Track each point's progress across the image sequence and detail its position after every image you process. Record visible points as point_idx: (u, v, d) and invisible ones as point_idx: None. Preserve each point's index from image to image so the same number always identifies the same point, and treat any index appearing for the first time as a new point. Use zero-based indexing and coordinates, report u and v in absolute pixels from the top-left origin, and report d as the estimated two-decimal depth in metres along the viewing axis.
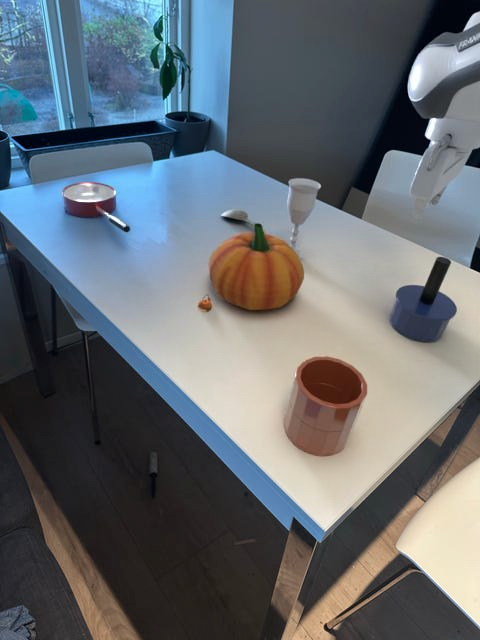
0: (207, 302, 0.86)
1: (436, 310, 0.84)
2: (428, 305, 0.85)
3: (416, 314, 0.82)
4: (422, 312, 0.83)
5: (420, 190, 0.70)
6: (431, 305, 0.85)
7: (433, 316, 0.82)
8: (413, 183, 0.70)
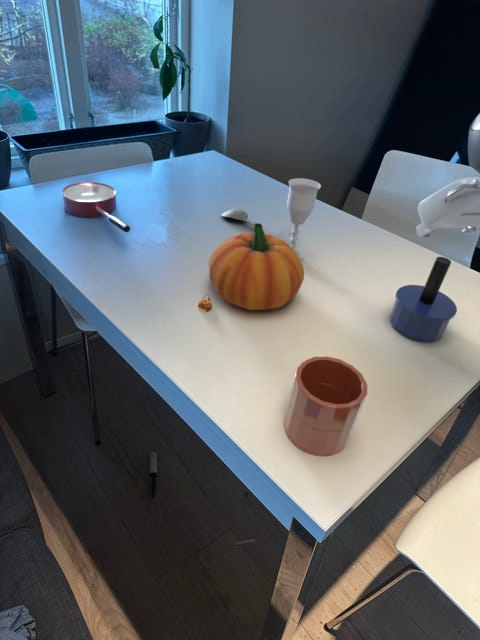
0: (207, 302, 0.86)
1: (436, 310, 0.84)
2: (428, 305, 0.85)
3: (416, 314, 0.82)
4: (422, 312, 0.83)
5: (425, 212, 0.59)
6: (431, 305, 0.85)
7: (433, 316, 0.82)
8: (426, 199, 0.58)
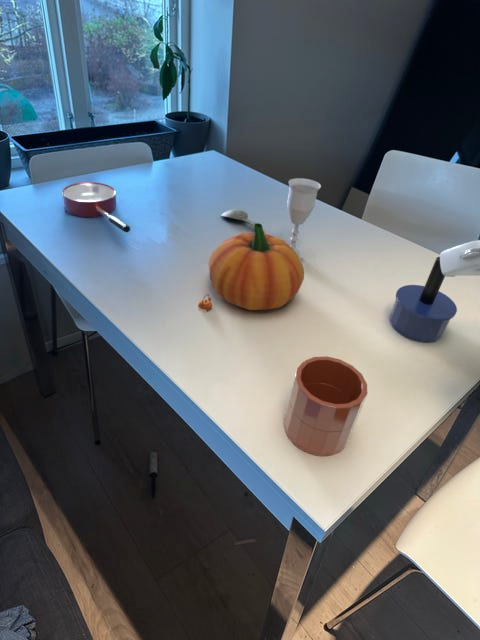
0: (207, 302, 0.87)
1: (436, 310, 0.84)
2: (428, 305, 0.85)
3: (416, 314, 0.82)
4: (422, 312, 0.83)
5: (443, 261, 0.65)
6: (431, 305, 0.85)
7: (433, 316, 0.82)
8: (446, 251, 0.64)
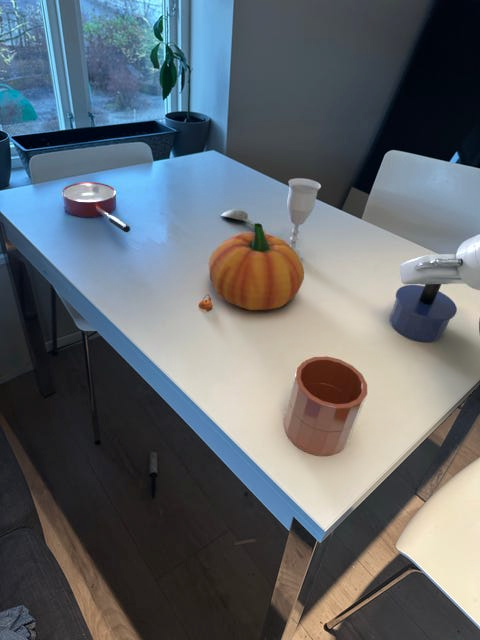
0: (208, 302, 0.87)
1: (436, 310, 0.84)
2: (428, 305, 0.85)
3: (416, 314, 0.82)
4: (422, 312, 0.83)
5: (402, 272, 0.76)
6: (431, 305, 0.85)
7: (433, 316, 0.82)
8: (404, 263, 0.75)
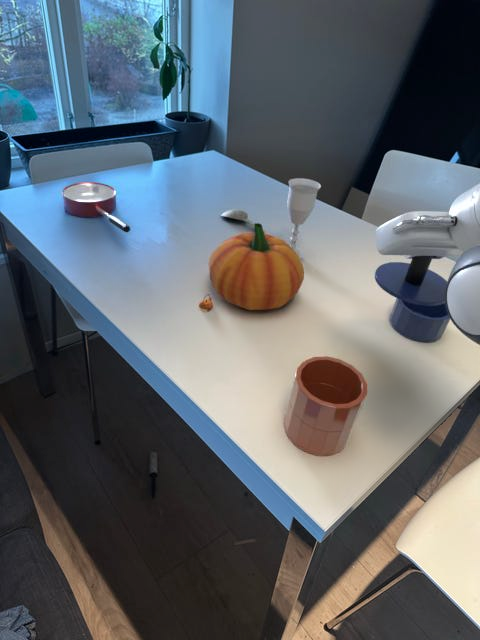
0: (208, 302, 0.87)
1: (425, 292, 0.65)
2: (416, 285, 0.67)
3: (399, 296, 0.64)
4: (406, 294, 0.64)
5: (379, 238, 0.58)
6: (419, 286, 0.67)
7: (421, 299, 0.64)
8: (381, 226, 0.57)
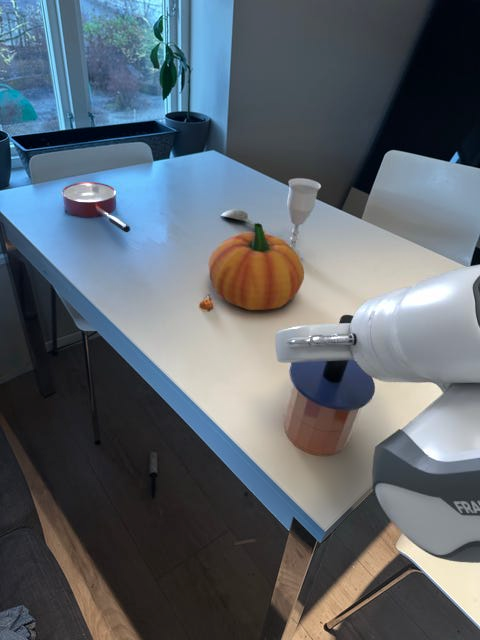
0: (208, 302, 0.87)
1: (343, 392, 0.57)
2: (334, 383, 0.58)
3: (312, 399, 0.55)
4: (321, 395, 0.56)
5: (277, 346, 0.49)
6: (338, 383, 0.58)
7: (336, 402, 0.55)
8: (279, 333, 0.49)
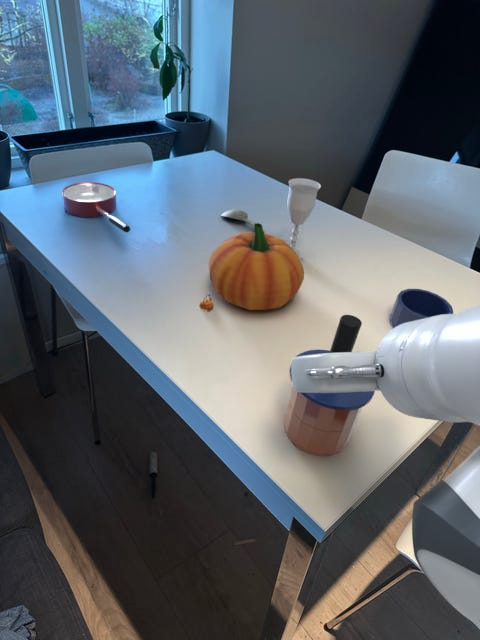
0: (208, 302, 0.87)
1: None
2: None
3: (312, 399, 0.55)
4: (321, 395, 0.56)
5: (294, 374, 0.45)
6: None
7: (336, 402, 0.55)
8: (296, 359, 0.45)
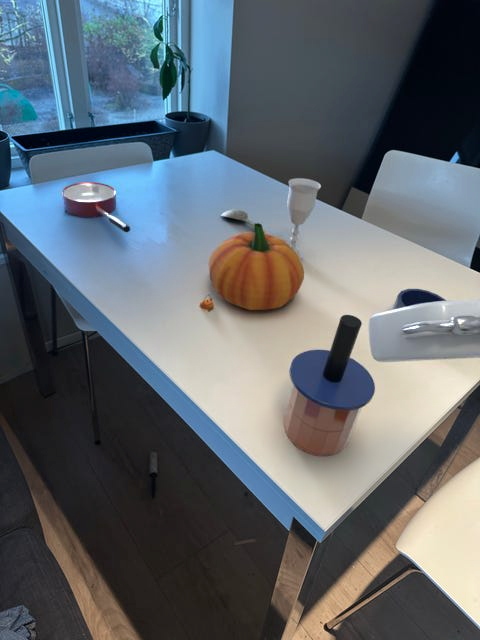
0: (209, 302, 0.87)
1: (343, 392, 0.57)
2: (334, 383, 0.58)
3: (312, 399, 0.55)
4: (321, 395, 0.56)
5: (374, 336, 0.32)
6: (338, 383, 0.58)
7: (336, 402, 0.55)
8: (378, 316, 0.32)
